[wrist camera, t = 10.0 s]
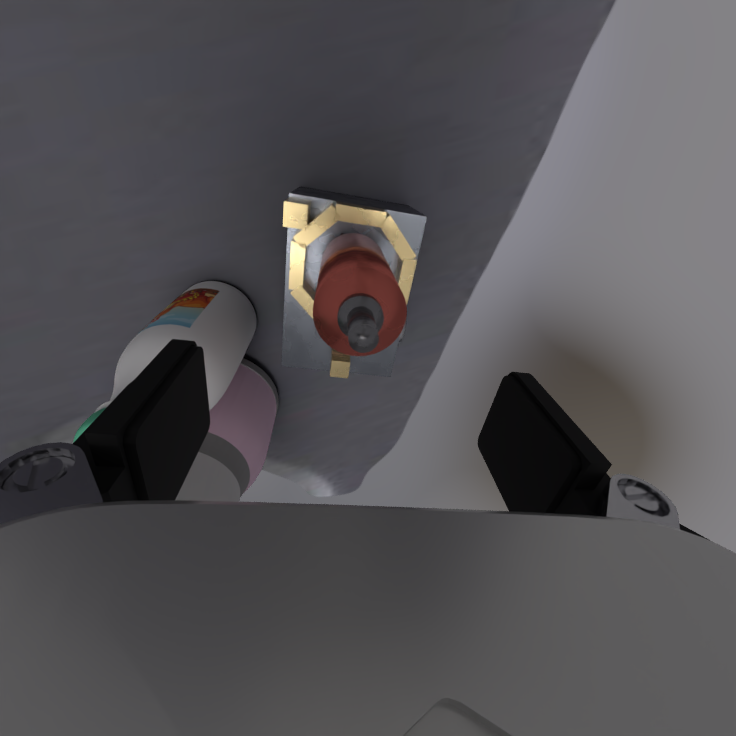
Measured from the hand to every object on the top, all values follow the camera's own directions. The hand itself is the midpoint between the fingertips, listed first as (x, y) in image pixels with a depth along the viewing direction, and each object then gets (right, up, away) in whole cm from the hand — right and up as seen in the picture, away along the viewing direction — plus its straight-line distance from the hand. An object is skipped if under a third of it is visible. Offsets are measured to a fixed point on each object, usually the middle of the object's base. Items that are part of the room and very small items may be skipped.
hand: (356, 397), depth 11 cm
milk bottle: (-15, +7, +26) cm, 31 cm away
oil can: (-1, +9, +16) cm, 18 cm away
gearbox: (-2, +11, +24) cm, 27 cm away
